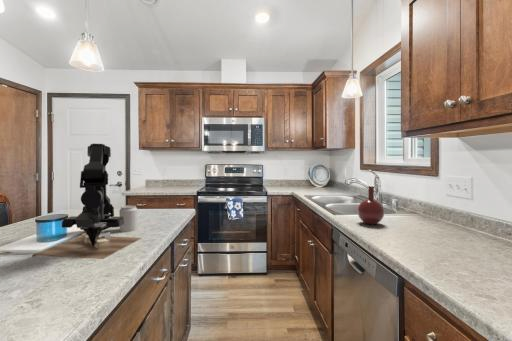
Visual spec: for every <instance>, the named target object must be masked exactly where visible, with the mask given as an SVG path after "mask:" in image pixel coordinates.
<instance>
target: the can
mask: <svg viewBox="0 0 512 341" xmlns="http://www.w3.org/2000/svg"><path fill="white" fill-rule="evenodd" d="M138 210H139V209H138V208H137V206H136V205H134V204H133V205H131V204H130V205H129V204H128V205H122V206H121V207H120V209H119V217H123V218H124V224H123V225H121V226H120V227H119V232H122V233H129V232H130V233H131V232H136V231H138V229H139V228H138V227H139V223H138V222H139V221H138V220H139V219H138V218H139V217H138V215H139V212H138Z"/></svg>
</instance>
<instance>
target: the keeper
mask: <svg viewBox="0 0 512 341" xmlns="http://www.w3.org/2000/svg"><path fill="white" fill-rule="evenodd" d="M99 236H102V237H103V238H105V239H107V240H108V241H109V243H110V236H111V231H109V230H107V231H106V230H104V231H101V233H100V235H99Z"/></svg>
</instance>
